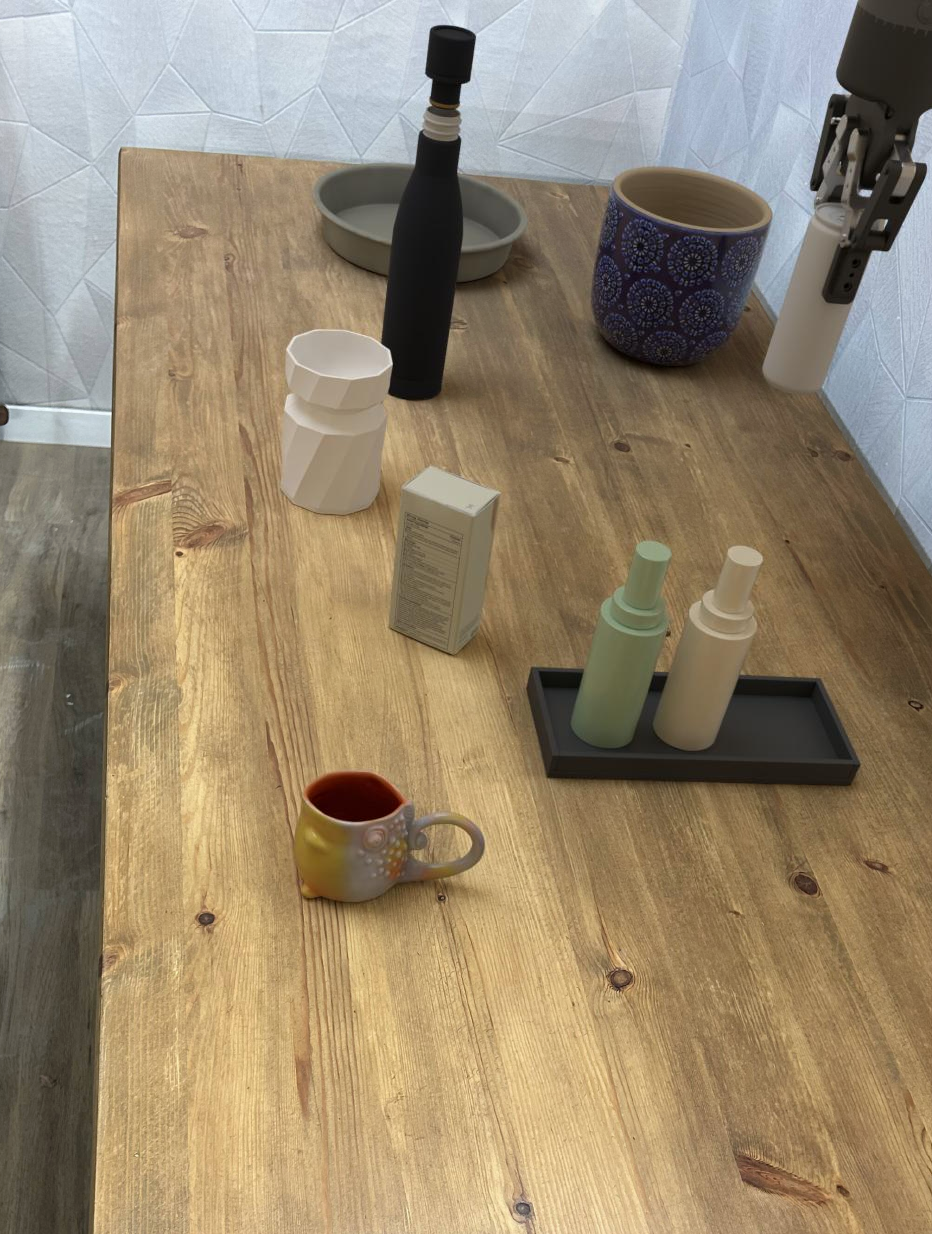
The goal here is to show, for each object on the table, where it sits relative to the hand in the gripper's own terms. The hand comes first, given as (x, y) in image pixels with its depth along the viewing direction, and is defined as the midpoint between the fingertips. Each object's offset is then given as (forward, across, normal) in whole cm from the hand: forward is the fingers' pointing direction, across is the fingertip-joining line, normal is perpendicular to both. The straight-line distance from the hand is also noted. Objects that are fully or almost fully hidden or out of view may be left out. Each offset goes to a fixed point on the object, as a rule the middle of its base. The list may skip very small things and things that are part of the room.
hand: (825, 283), depth 97 cm
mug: (+25, -36, +32) cm, 54 cm away
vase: (+25, +11, +33) cm, 43 cm away
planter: (+25, +45, -3) cm, 52 cm away
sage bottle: (+25, -20, +14) cm, 35 cm away
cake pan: (+25, +65, +21) cm, 73 cm away
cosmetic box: (+25, -9, +26) cm, 37 cm away
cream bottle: (+25, -20, +8) cm, 33 cm away
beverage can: (+8, 0, 0) cm, 8 cm away
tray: (+25, -20, +8) cm, 33 cm away
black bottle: (+25, +31, +25) cm, 47 cm away
